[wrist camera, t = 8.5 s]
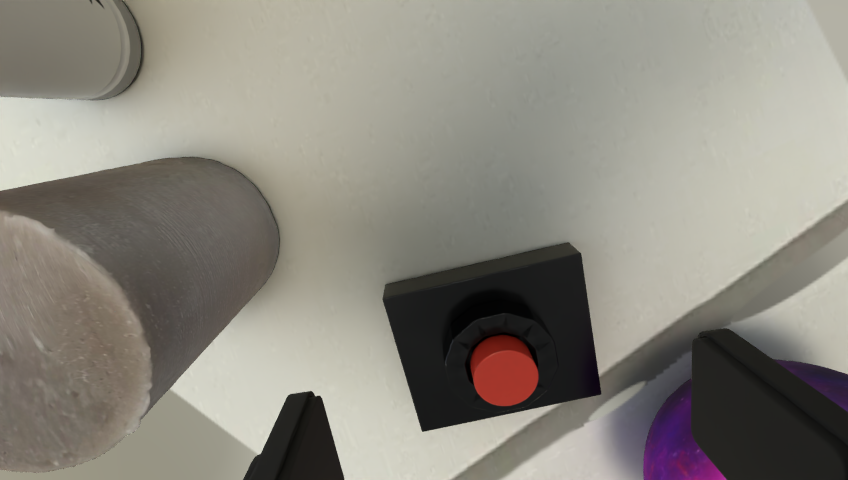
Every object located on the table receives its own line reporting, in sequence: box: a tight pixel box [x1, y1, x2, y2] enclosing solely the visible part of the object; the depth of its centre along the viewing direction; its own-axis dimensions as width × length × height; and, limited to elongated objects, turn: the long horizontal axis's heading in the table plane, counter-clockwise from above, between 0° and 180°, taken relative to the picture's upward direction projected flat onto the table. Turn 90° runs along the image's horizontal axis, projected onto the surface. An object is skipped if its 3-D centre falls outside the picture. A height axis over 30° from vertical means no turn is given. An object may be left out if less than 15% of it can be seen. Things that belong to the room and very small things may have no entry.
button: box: [470, 335, 538, 406], centre depth 24 cm, size 4×4×2 cm
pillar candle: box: [0, 157, 279, 473], centre depth 19 cm, size 10×10×15 cm
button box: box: [383, 243, 601, 432], centre depth 27 cm, size 12×10×4 cm
